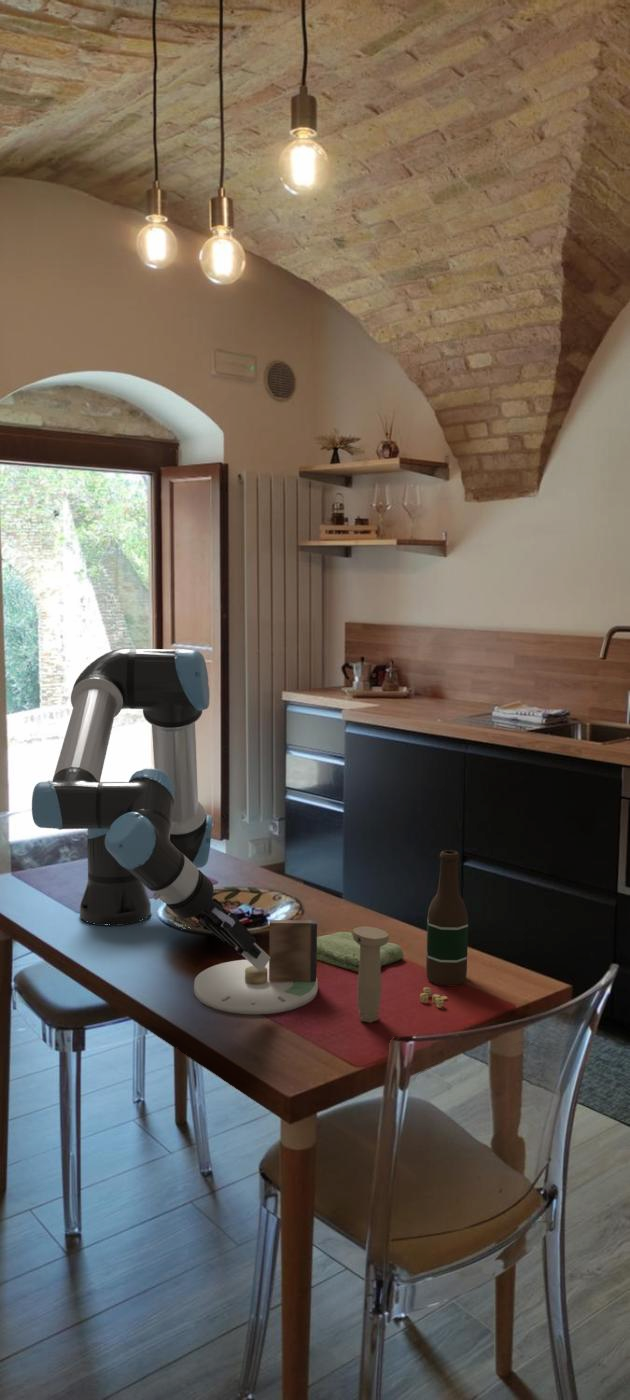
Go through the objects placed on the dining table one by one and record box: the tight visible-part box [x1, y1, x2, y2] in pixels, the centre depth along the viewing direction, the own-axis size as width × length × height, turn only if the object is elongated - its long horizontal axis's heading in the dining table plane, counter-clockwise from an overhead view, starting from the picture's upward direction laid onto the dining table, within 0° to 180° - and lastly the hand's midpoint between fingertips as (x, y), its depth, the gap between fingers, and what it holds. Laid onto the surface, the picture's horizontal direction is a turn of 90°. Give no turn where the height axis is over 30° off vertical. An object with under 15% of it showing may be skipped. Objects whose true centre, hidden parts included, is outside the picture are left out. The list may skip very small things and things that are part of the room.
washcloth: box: [317, 931, 405, 973], centre depth 206 cm, size 13×18×3 cm
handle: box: [352, 925, 390, 1024], centre depth 175 cm, size 5×6×15 cm
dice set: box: [419, 987, 448, 1007], centre depth 184 cm, size 5×5×2 cm
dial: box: [193, 959, 319, 1015], centre depth 188 cm, size 22×22×2 cm
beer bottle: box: [425, 849, 469, 986], centre depth 193 cm, size 8×8×24 cm
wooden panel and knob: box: [245, 919, 318, 984], centre depth 188 cm, size 13×4×11 cm, turn 92°
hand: (263, 962), depth 180 cm, fingers closed
